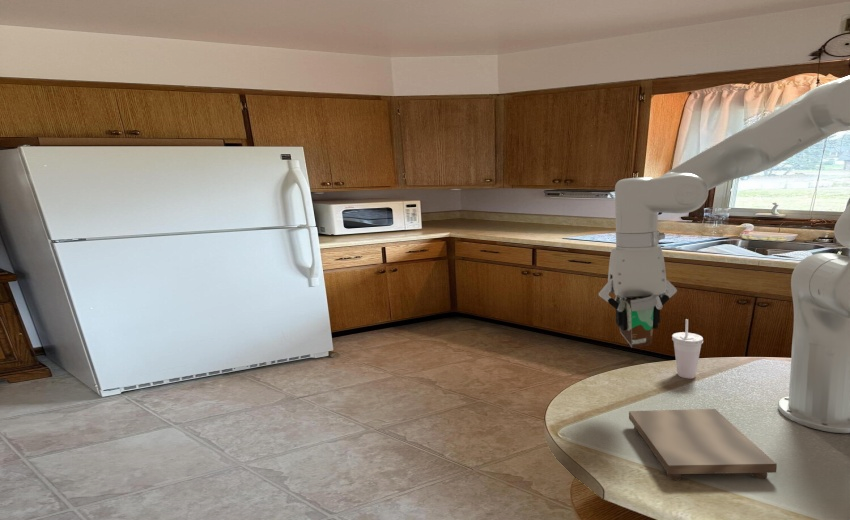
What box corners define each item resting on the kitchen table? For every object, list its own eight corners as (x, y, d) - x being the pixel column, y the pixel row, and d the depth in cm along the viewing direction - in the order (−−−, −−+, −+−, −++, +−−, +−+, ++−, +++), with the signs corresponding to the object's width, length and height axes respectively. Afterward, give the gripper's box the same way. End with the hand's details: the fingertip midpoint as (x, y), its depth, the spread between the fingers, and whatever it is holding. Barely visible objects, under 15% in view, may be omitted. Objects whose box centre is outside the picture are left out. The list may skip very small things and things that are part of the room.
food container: (668, 348, 85) (666, 298, 84) (634, 350, 86) (631, 300, 85) (648, 328, 97) (645, 283, 96) (618, 329, 98) (615, 286, 97)
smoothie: (666, 375, 107) (667, 320, 104) (676, 367, 111) (677, 313, 109) (696, 383, 102) (698, 325, 100) (706, 374, 106) (707, 317, 104)
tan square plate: (714, 423, 86) (715, 408, 85) (775, 481, 69) (776, 463, 69) (628, 425, 87) (628, 411, 87) (668, 482, 71) (668, 465, 70)
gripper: (672, 234, 91) (672, 319, 94) (587, 241, 93) (589, 324, 96) (691, 239, 84) (690, 331, 87) (597, 246, 86) (600, 336, 88)
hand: (637, 326), depth 91 cm, fingers closed on food container, 5 cm apart
